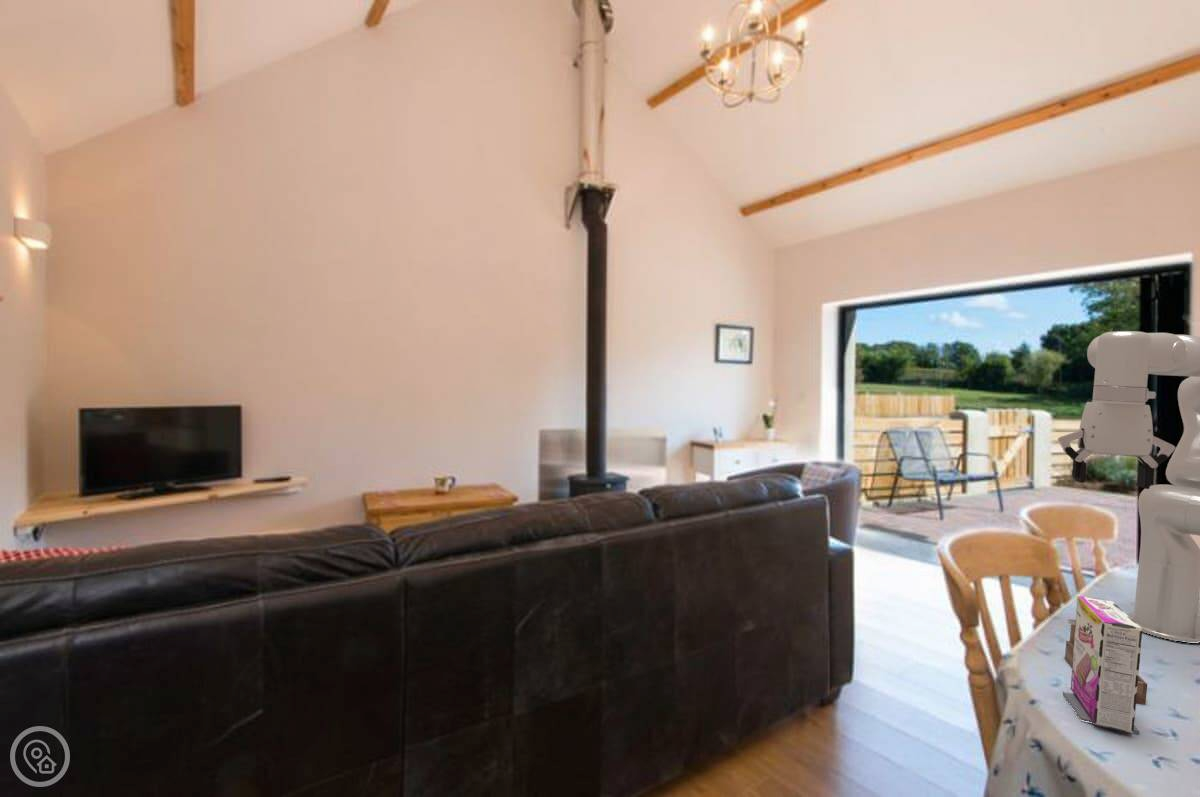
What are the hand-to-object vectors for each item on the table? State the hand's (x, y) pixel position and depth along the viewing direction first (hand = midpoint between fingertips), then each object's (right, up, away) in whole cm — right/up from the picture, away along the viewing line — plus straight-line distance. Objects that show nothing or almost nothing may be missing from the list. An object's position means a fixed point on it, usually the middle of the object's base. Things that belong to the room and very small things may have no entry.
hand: (1110, 484), depth 109 cm
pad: (-19, -34, -19) cm, 43 cm away
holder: (-10, -33, -9) cm, 36 cm away
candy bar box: (-19, -33, -19) cm, 43 cm away
